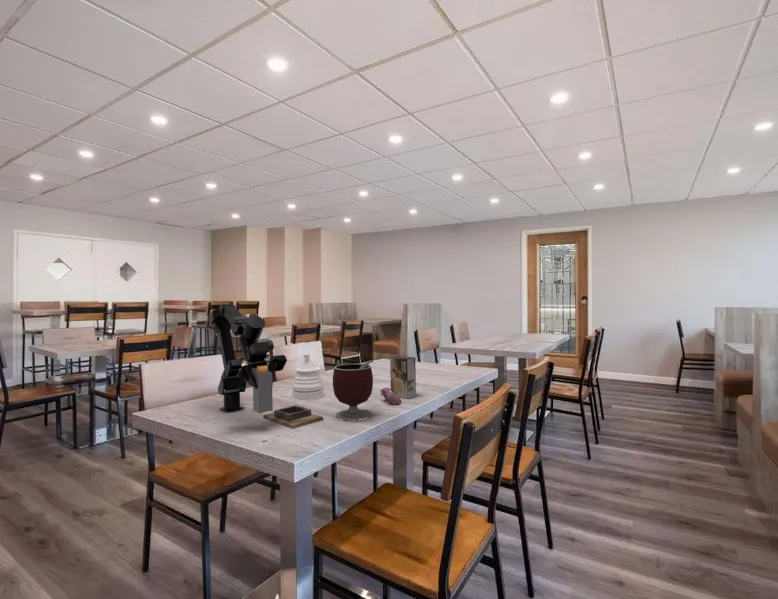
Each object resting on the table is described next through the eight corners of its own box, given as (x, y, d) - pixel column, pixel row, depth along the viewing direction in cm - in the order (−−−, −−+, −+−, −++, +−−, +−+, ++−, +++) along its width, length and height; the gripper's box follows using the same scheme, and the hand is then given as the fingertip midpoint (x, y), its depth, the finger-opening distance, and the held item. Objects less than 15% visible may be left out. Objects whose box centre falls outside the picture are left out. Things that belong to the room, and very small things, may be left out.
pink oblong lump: (384, 403, 163) (376, 388, 162) (393, 397, 165) (386, 382, 164) (393, 409, 154) (385, 394, 153) (403, 403, 155) (395, 387, 154)
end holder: (263, 417, 141) (263, 409, 141) (292, 410, 150) (292, 402, 150) (292, 428, 128) (292, 419, 128) (323, 419, 137) (323, 410, 137)
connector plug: (253, 410, 129) (252, 366, 129) (267, 407, 132) (266, 364, 132) (258, 413, 125) (257, 367, 125) (272, 410, 128) (272, 366, 128)
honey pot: (320, 400, 164) (319, 355, 163) (288, 400, 164) (288, 356, 164) (326, 393, 176) (325, 351, 176) (296, 393, 177) (296, 351, 177)
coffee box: (417, 396, 168) (416, 357, 168) (408, 399, 163) (407, 359, 163) (399, 393, 174) (398, 355, 174) (389, 396, 169) (389, 357, 169)
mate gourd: (324, 417, 140) (323, 359, 139) (350, 408, 151) (349, 354, 151) (360, 425, 131) (359, 362, 131) (385, 414, 142) (384, 357, 142)
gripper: (227, 334, 126) (240, 375, 117) (284, 330, 137) (299, 367, 129) (220, 357, 132) (231, 397, 123) (275, 351, 144) (289, 388, 135)
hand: (264, 387), depth 127 cm, fingers closed on connector plug, 4 cm apart
